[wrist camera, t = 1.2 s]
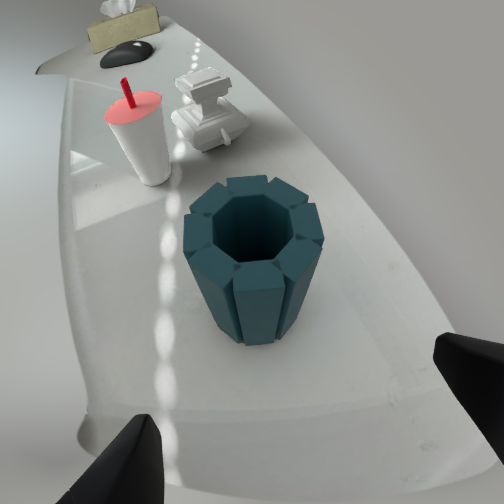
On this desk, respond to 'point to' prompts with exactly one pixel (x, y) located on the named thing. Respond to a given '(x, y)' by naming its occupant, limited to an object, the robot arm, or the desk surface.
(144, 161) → the cup
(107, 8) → the tissue box
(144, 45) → the computer mouse
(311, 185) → the desk surface
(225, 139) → the stamp
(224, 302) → the sleeve
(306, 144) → the desk surface
